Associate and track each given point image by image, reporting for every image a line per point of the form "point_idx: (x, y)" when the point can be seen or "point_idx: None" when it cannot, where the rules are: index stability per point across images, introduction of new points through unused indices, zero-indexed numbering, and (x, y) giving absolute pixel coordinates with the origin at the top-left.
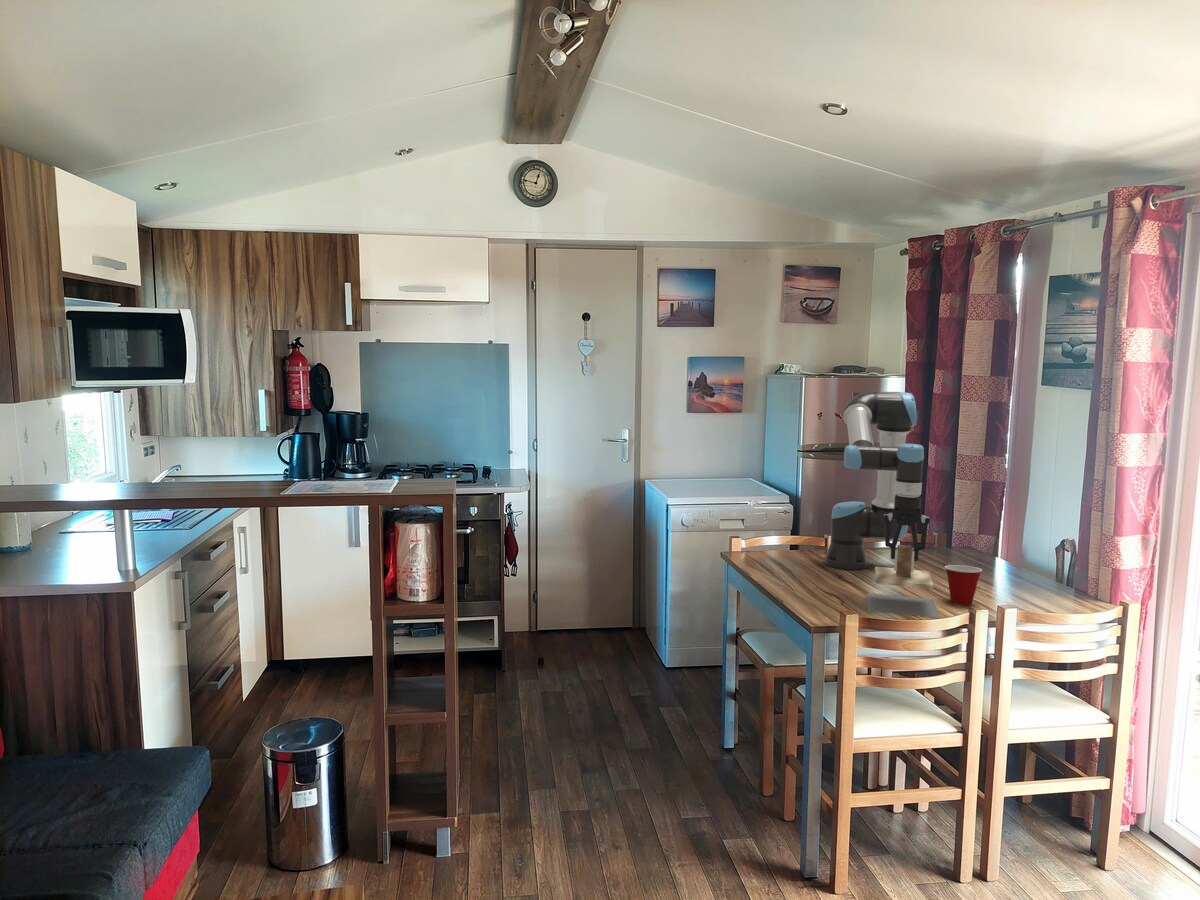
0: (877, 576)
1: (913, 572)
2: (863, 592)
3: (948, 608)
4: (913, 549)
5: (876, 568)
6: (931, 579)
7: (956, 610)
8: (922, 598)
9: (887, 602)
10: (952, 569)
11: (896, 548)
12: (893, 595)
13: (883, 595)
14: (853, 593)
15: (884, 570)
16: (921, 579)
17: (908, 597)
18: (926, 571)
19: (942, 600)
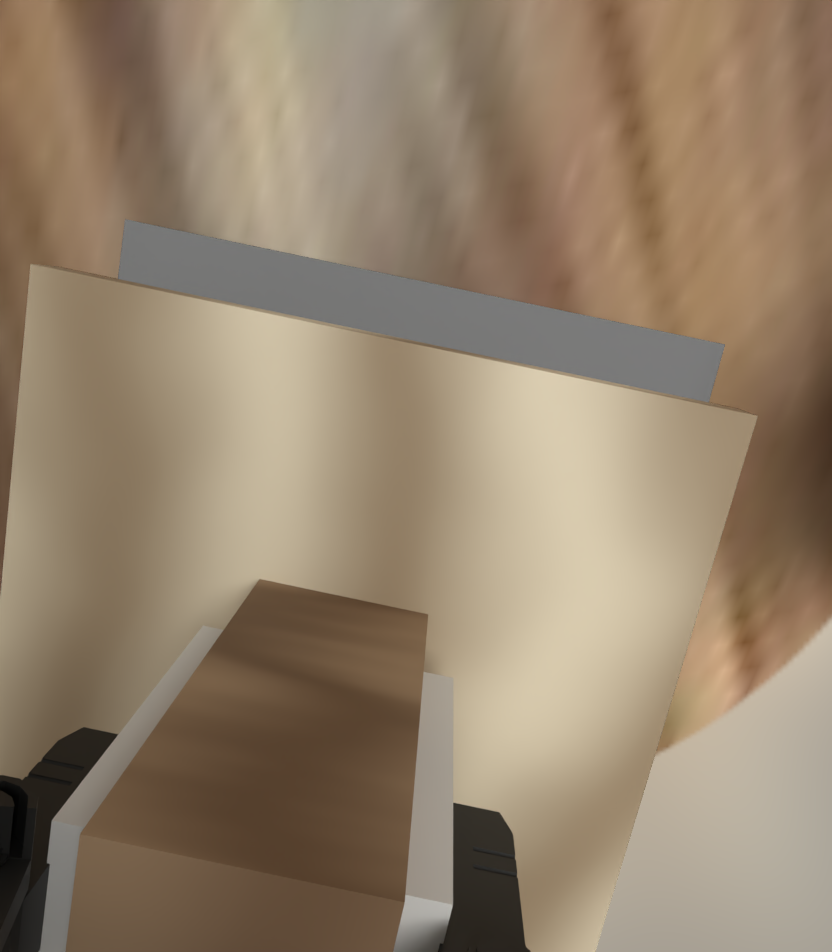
0: (2, 753)
1: (508, 512)
2: (117, 109)
3: (774, 536)
4: (438, 918)
5: (36, 369)
6: (637, 808)
7: (821, 585)
8: (622, 334)
9: None
10: None
11: (74, 871)
12: (365, 271)
13: (268, 284)
14: (17, 165)
15: (131, 460)
16: (509, 823)
17: (494, 321)
18: (714, 437)
19: (824, 283)
